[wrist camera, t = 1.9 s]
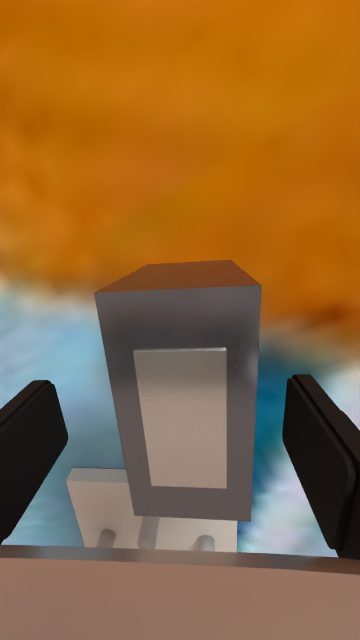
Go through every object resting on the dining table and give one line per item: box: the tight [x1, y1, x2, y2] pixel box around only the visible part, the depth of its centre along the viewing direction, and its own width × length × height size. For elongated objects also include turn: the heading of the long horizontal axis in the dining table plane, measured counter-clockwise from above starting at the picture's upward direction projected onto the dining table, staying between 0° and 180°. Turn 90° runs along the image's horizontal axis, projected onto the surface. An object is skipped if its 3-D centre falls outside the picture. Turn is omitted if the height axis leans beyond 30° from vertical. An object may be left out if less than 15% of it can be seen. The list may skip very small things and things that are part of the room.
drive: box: [94, 260, 261, 522], centre depth 13 cm, size 5×10×8 cm, turn 4°
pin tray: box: [66, 468, 237, 552], centre depth 22 cm, size 14×20×4 cm
